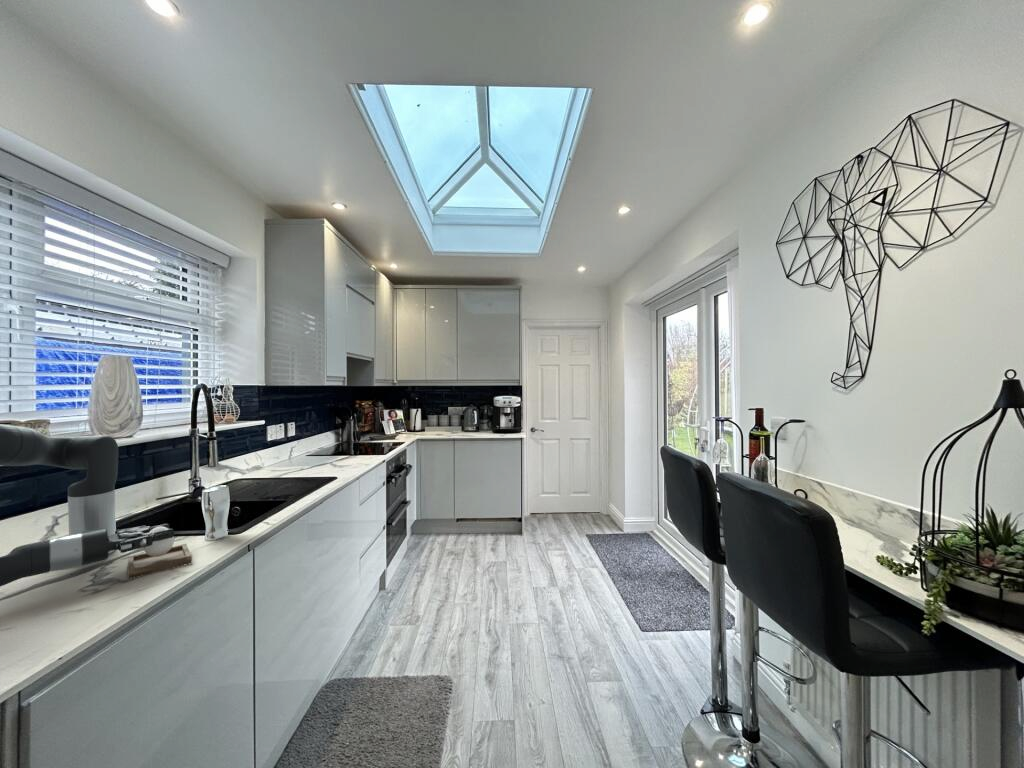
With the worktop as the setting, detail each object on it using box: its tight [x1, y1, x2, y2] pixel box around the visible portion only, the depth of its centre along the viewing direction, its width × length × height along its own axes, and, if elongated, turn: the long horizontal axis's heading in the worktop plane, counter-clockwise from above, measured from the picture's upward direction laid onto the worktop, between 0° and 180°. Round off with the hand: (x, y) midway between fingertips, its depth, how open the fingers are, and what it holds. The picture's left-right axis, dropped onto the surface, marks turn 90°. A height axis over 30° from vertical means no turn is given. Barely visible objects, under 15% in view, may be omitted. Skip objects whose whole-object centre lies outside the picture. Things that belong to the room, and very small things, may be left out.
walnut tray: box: [127, 543, 192, 580], centre depth 107 cm, size 12×12×2 cm
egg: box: [143, 526, 175, 557], centre depth 107 cm, size 6×6×8 cm
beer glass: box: [201, 485, 231, 541], centre depth 126 cm, size 7×7×15 cm
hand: (170, 530), depth 109 cm, fingers closed on egg, 5 cm apart
